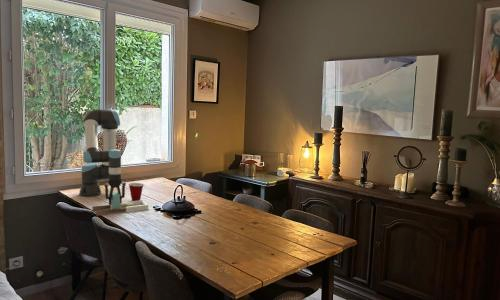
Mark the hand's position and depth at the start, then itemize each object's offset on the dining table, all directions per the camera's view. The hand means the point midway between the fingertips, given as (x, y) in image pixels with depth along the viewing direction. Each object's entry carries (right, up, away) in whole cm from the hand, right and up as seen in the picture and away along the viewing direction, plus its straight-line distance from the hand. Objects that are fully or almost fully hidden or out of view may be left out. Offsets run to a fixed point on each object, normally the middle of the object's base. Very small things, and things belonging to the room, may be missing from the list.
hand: (115, 208), depth 249 cm
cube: (+8, -1, +4) cm, 9 cm away
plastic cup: (+6, +2, +27) cm, 28 cm away
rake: (0, -1, 0) cm, 1 cm away
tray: (+10, -1, +7) cm, 12 cm away
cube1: (+4, -1, +3) cm, 5 cm away
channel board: (-3, -1, -2) cm, 4 cm away
